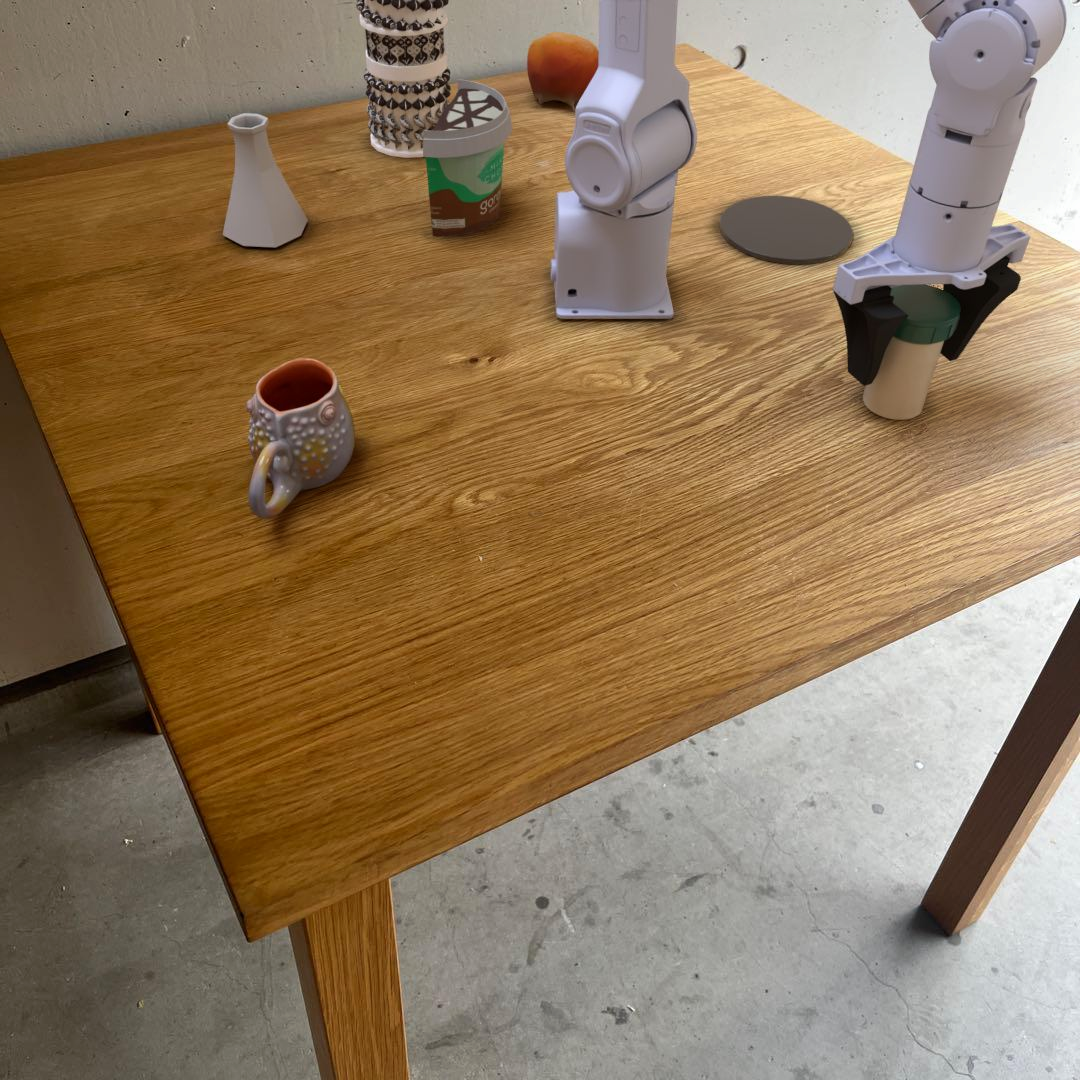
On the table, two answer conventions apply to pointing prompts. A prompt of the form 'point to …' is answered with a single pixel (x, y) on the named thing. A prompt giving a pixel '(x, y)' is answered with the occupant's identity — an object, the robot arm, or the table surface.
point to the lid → (926, 313)
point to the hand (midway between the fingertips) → (902, 365)
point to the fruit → (561, 67)
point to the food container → (467, 160)
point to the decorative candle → (404, 72)
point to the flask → (259, 190)
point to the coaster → (786, 230)
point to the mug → (297, 433)
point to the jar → (902, 379)
